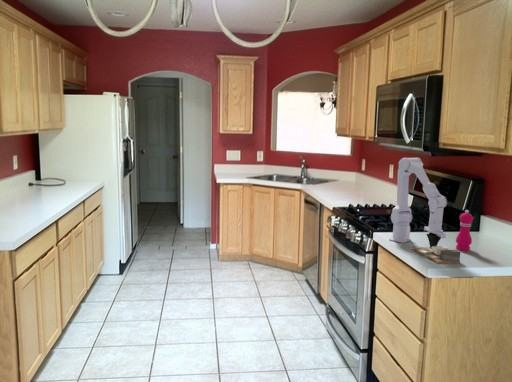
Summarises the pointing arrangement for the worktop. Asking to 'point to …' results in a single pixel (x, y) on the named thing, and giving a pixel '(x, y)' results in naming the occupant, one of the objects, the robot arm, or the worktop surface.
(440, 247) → the gauge carriage
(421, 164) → the robot arm
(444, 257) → the gauge base
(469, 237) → the pepper mill
